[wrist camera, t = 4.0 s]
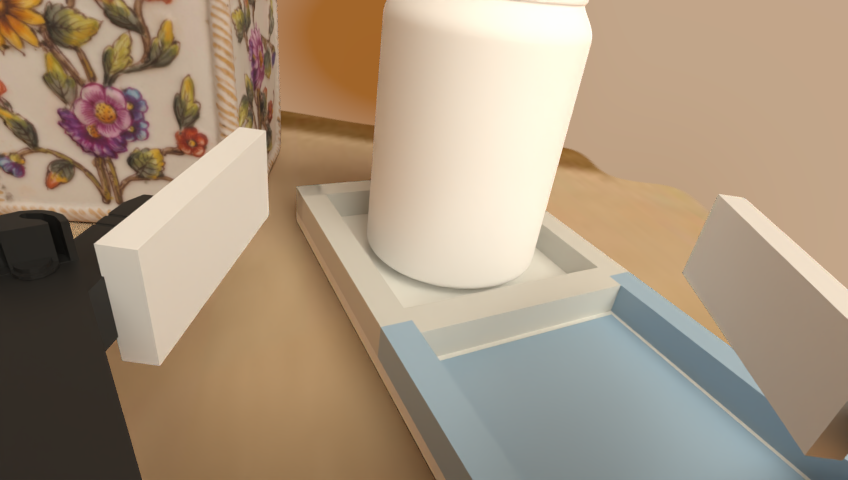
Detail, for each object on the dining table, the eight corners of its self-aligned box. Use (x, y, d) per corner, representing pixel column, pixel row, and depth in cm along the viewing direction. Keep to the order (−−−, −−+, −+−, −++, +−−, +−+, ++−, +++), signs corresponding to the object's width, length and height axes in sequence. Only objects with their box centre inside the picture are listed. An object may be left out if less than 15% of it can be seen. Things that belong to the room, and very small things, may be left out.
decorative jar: (243, 240, 25) (210, -254, 16) (-17, 223, 23) (-216, -329, 14) (284, 151, 35) (278, -179, 26) (105, 135, 34) (32, -219, 25)
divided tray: (296, 220, 27) (296, 186, 26) (484, 198, 32) (490, 169, 31) (594, 774, 10) (628, 738, 9) (892, 536, 15) (934, 496, 14)
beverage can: (345, 280, 22) (362, -32, 16) (385, 201, 29) (408, -37, 23) (532, 316, 21) (623, 6, 15) (527, 227, 28) (588, -10, 22)
